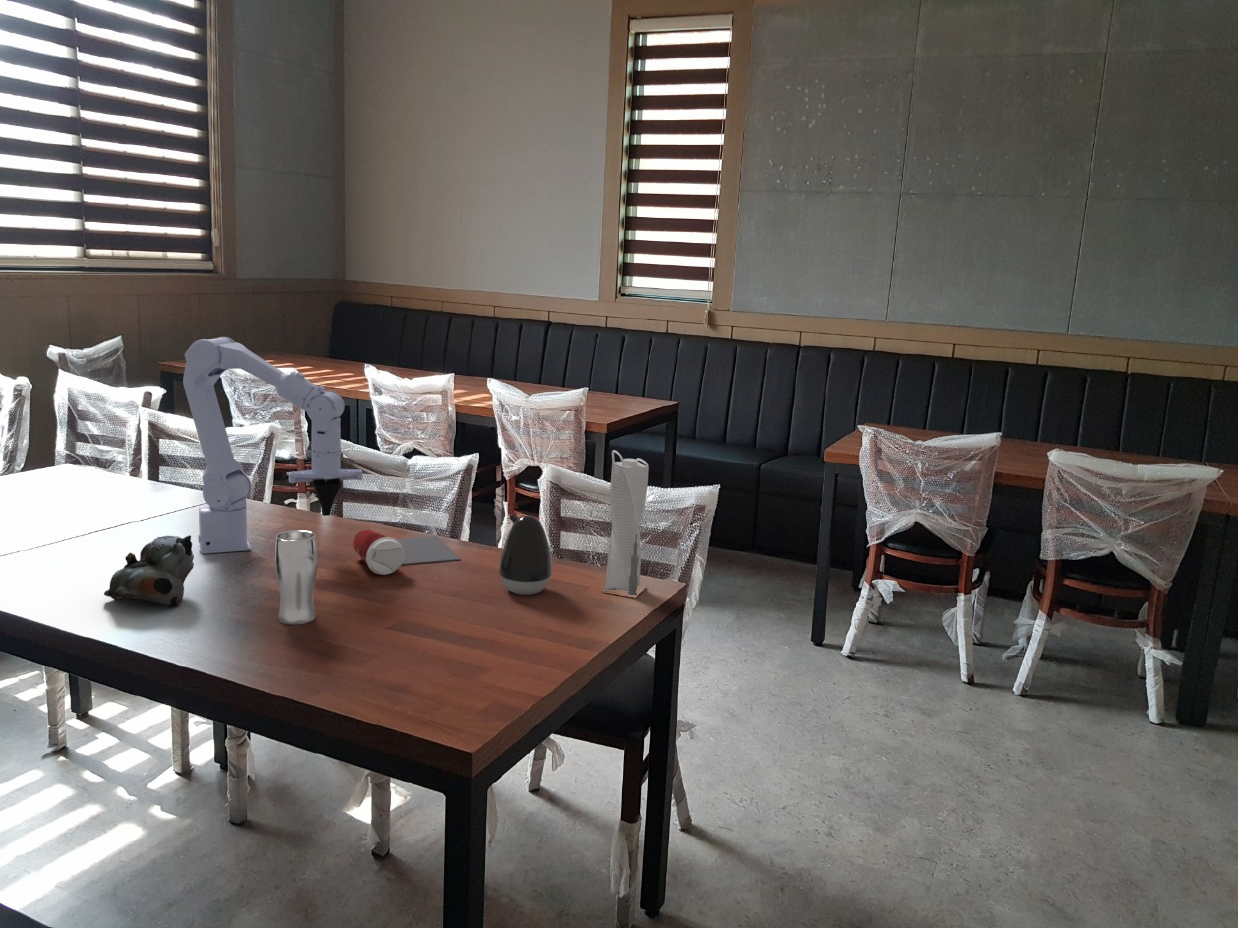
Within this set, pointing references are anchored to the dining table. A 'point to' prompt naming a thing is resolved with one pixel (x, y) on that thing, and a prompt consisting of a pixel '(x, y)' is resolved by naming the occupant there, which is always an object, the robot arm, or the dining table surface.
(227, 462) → the robot arm
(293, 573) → the beer glass
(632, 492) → the skyscraper
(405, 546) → the mat
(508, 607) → the dining table surface
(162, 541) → the lucky cat figurine
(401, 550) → the paper cup
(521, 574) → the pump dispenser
